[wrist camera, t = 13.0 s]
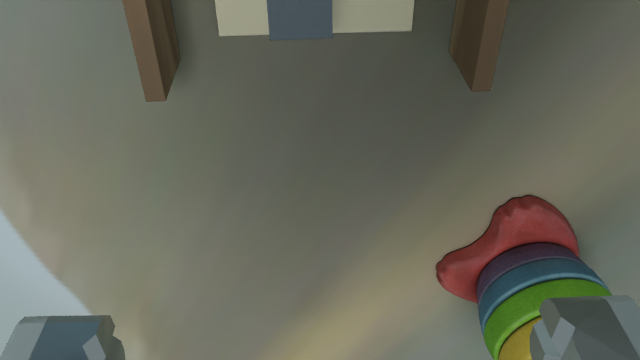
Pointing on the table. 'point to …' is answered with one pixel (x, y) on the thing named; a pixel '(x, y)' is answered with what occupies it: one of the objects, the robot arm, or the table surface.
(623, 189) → the table surface
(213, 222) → the table surface
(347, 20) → the pad
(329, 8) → the bracket
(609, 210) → the table surface
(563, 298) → the robot arm
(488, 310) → the stacking bear
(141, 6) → the bay
